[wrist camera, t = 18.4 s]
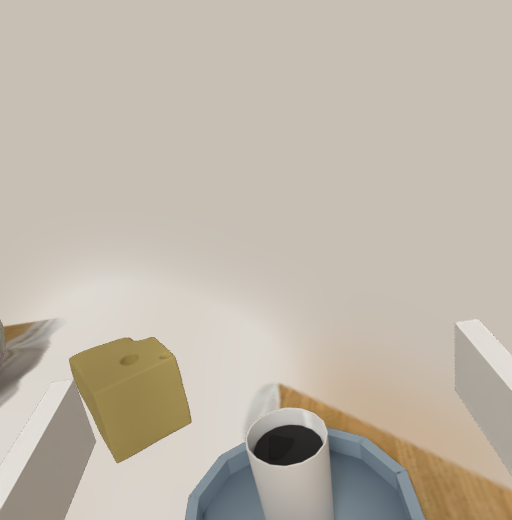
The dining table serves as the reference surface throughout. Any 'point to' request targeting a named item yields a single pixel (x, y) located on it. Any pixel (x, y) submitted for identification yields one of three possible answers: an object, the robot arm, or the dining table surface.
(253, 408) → the dining table surface
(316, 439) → the white coffee cup
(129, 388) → the cheese
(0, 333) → the ceramic pitcher
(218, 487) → the blue round tray
